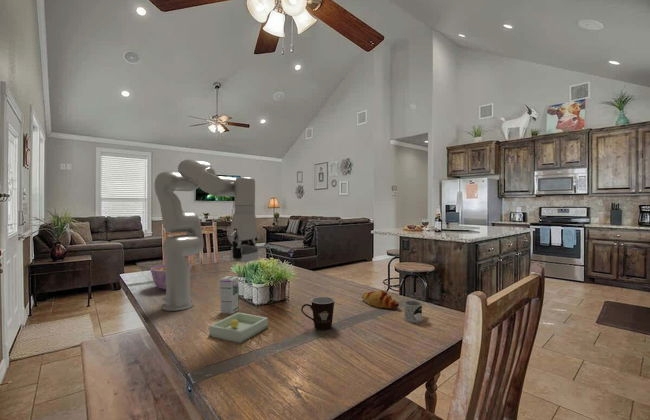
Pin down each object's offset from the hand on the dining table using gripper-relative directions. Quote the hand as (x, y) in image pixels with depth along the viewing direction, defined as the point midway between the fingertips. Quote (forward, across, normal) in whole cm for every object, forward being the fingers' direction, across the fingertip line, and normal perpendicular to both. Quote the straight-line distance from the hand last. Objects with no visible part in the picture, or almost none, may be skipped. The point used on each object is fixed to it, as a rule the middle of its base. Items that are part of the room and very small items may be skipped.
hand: (244, 256), depth 121 cm
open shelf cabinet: (+1, 0, 0) cm, 1 cm away
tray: (+26, +6, +4) cm, 27 cm away
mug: (+25, -34, +58) cm, 71 cm away
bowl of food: (+28, -22, -69) cm, 78 cm away
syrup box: (+26, -8, -14) cm, 31 cm away
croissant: (+25, -45, +40) cm, 65 cm away
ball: (+23, +7, +2) cm, 24 cm away
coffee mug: (+25, -10, +27) cm, 39 cm away
